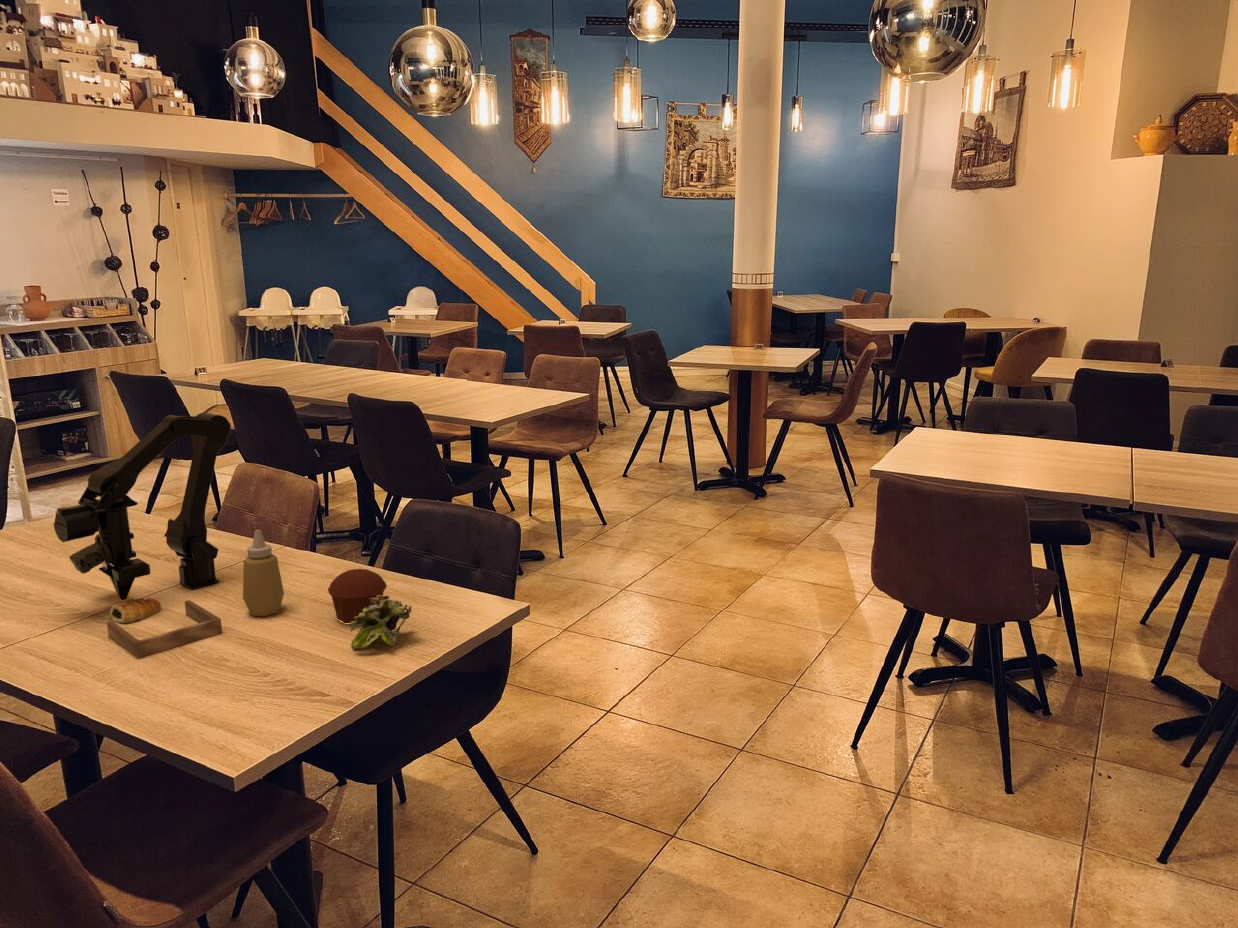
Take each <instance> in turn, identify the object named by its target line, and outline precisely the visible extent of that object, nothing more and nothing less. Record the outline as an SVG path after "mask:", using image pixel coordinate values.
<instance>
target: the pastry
mask: <svg viewBox="0 0 1238 928" xmlns="http://www.w3.org/2000/svg"><path fill="white" fill-rule="evenodd" d="M161 609H162V606H161V603H160V601H159V600H157V599H155V598H146V599H145V598H136V599H135V598H134V599H132V598H129V599H126V600H124V601H120V602H119V601H118V602H117V603H116V604H113V605H111V608H110V610H109V614H108V615H109V618H111V621H113V622H118V623H122V624H131V623H134V622H135V623H136V621H138V620H144V619H146V618H148V617H151V616H153V615H156V614H157V613H159V611H161Z"/></svg>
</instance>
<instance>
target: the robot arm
mask: <svg viewBox="0 0 1238 928" xmlns="http://www.w3.org/2000/svg"><path fill="white" fill-rule="evenodd" d="M231 426H232V425H231V423H230V421H229V420H228V418H226V416H223V415H221V414H215V413H211V412H210V413H209V412H200V413H198V414H196V415H195V416H193V415H172V414H168V415H166V416H165V417H163V418H162V419H161V421H160V422H159V423H158V424H157V425H155V427H153V429H151V430H150V431H148V433H146V435H145V436H144V437H143V438H142V439H140V440H139V441H138V442H137V443H136V444H135V445H134V446H132V447H131V448H130V449H129V451H127V452H126V453H125V454H124V455H123V456H121V457H120V458H118V459H116V460H114V461H111V462H109V463H106V464H105V465H103V466H101V467H100V468H98V469H96V470H95V471H94V472H92V473H91V474H90V476H89V477H88V479H87V486H86V488H85V490H84V492H83V493H82V495H81V497H80V499H79V500H78V505H74V506H65V507H59V508H57V509H56V513H57V514H56V515H55V518H54V522H53V528H54V532H55V534H56V537H57V539H58V540H59V541H60V542H62V543H66V542H70V541H75V540H79V539H83V538H87V537H92V536H94V535H95V536H94V543H92V544H90V545H87V546H85V547H84V548H82V549H80V550H78V551H76V552H75V553H73V554H71V555H70V556H69V557H68V558H69V560H70V561H71V564H73V567H74V568H75V570H77V571H78V572H80V573H81V574H82V575H83V574H87V573H88V572H90V571H91V570H92V569H94V568H96V567H98V566H99V565H102V567H99V568H98V570H99V572H101V573H103V574H105V575H106V576H108V577H109V579H110V580H111V582H112V583H111V584H112V585H113V587H114V589H115V592H116V593H117V594H116V595H117V596H118V599H119V600H120V601H126V600H128V596H129V594H130V591H131V588H132V586H133V583H134V581H135V579H136V578H140V577H144V576H148V575H150V574H151V566H150V564H149V563H147V562H146V561H144V560H142V559H140V558H138V557H137V551H134V550H133V545H132V539H135V536H134V533H133V532H131V529H130V521H129V513H128V508H130V507H135V506H137V505H139V504H138V502H137V501H135V500H134V499H132V498H131V497H130V496H129V495H128V493H129V492H130V490H132V488H133V487H135V485H136V483H137V480H138V477H139V475H140V474H141V472H142V471H144V469H145V468H146V467H148V466H149V464H151V463H152V462H154V460H155V459H156V458H158V456H160V455H161V453H163V452H164V451H165V450H166V449H167V448H168V447H169V446H171V444H173V443H174V442H175V441H176V440H177V439H178V438H179V437H180V436H181V435H187V436H189V435H190V436H189V437H190V440H191V444H192V449H193V453H192V458H191V463H190V467H189V472H188V477H187V481H186V485H185V491H184V495H183V500H182V504H181V509H180V513H179V514H178V515H177V517H176V518H175V519H172V518H169V519H167V528H166V531H165V534H164V537H165V538H166V540H165V542H166V546H168V548H169V549H170V550H171V551H173V552H175V554H176V556H177V557H181V558H180V559H179V560H180V561H179V562H180V565H178V574H179V584H181V585H183V586H185V587H187V588H188V589H190V590H194V589H199V588H202V587H205V586H210V585H213V584H217V583H219V582H220V579H218V578H217V577H216V568H215V559H217V557H218V553H219V549H218V547H216V546H214V545H213V544H211V542H208V540H207V539H208V538H207V537H208V529H207V524H206V521H205V512H206V508H207V503H208V499H209V498H208V497H209V495H210V494H209V492H210V489H211V484H212V480H213V475H214V470H215V464H216V460H217V456H218V454H219V453H220V452H221V451H222V449H223V448H224V446H225V445H227V444H226V443H227V441H228V438H229V436H230V434H231V428H232V427H231ZM97 498H100V499H97ZM96 533H98V534H96ZM136 557H137V558H136Z"/></svg>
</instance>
